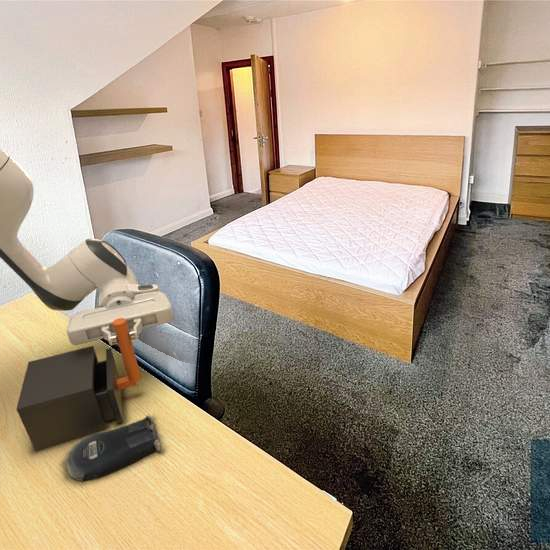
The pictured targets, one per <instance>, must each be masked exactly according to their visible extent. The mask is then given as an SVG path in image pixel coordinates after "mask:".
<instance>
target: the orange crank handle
mask: <svg viewBox="0 0 550 550" xmlns="http://www.w3.org/2000/svg"><path fill="white" fill-rule="evenodd" d="M113 327H114V330H115V334H116V337H117V340H118V344H117V345H118V347H119V351H120V354H121V358H122V362H123V365H124V369H125V372H126V375H127V376H126V375H125V376H123V377H121V376H120V374H119V370H118V368H117V364H116V363H117V362H116V360H115V357H114V354H113V350H112V348H107V349H105V359H104V360H101V361H98V362H97V363H94V391H95V394H96V397H97V400H98V403H99V406H100V409H101V412H102V415H103V418H104V421H105V422H106V423H107V422H109V421H112V420H116V422H117V424H121V423H123V422H124V416H123V415H124V414H123V402H122V400H123V399H122V390H123V389H128V388H131V387H134V386H137V383H139V382H141V380H142V375H141V371H140V368H139V367H140V366H139V364H138V361H137V357H136V356H137V355H136V353H135V348H134V344H133V342H132V341H133V340H131V339H130V335H129V330H128V326H127V322H126V319H125V318H118V319H116V320H114V321H113Z"/></svg>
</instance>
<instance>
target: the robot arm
mask: <svg viewBox="0 0 550 550" xmlns="http://www.w3.org/2000/svg"><path fill="white" fill-rule="evenodd" d="M34 194H35V192H34V184H33V180H32V179H31V176H29V174H28V173H27V172H26V171H25V169H24V168H23V167H22V166H21V165H20V164H19V163H18V162H17V161H15V159H13V158H12V157H11V155H9V154H8V153H7V152H6V151H5V150H4V149H2V148H1V147H0V259H1V260H2V261H3V262H4V263H5V264H6V265H7V266H8V267H9V268H10V269H11V270H12V271H13V272H14V273H15V274H16V275H17V276H18V277H19V278H20V279H21V280H22V281H23V282H25V284H26V285H27V286H28V287H29V288H30V289H31V290H32V291H33V293H34V294H35V295H36V297H37V298H38V299H39V300H40V301H41V302H42V303H43V304H44V305H45V307H47V308H48V309H50V310H53V311H59V312H67V311H73V310H74V309H75V308H76V307H77V306H78V305H79V304H80V303H82V301H84V300H85V298H87V297H88V296H89V295H90V294H92V293H93V292H94V291H95V290H97V289H98V294H99V296H98V307H96V308H92V309H88V310H82V311H79V312H77V313H75V314H73V315H72V316H71V317H70V318H69V319H68V324H67V327H66V334H67V338H68V341H69V342H70V344H71V345H73V346H79V345H83V344H87V343H91V342H95V341H100V340H105V341H107V342H108V344H109V346H110V347H111V346H115V345H119V344H118V340H117V337H116V334H115V330H114V327H113V321H114V320H116V319H118V318H125V319H126V322H127V326H128V330H129V335H130V339H131V341H135V340H138V339H139V335H140V334H141V333H142V331H144V329H147V328H151V327H157V326H161V325H165V324H168V323H171V322H172V321H173V320H174V319H175V318H174V312H173V307H172V304H171V302H170V299H169V298H168V297H167V295H166V294H165V293H164V292H163V291H161V289H160V287H159V285H158V284H142V285H141V284H139V282H138V279H137V277H136V275H135V273H134V272H133V270H132V269H131V268H130V267H129V266H128V265H127V261H126V260H125V258H124V256H123V255H122V253H120V251H118V250H117V249H116V248H115V247H114V246H113V245H112V244H110V243H109V242H108V241H105V240H101V239H96V238H86V239H85V240H83V241H82V242H80V244H78V245H77V246H76V247H74V248H73V249H72V250H71V251H69V253H67V254H66V255H65V256H63V257H62V258H61V259H59V260H58V261H57V262H56V263H55V264H53V265H51V266H44V265H42V264H41V263H40V261H38V259H37V258H35V256H34V255H33V254H32V253H31V252H30V250H28V249H27V248H26V247H25V245H23V243H22V241H20V239H19V236H18V234H19V231H20V228H21V227H22V224H23V222H24V221H25V219H26V217H27V215H28V214H29V211H30V210H31V207H32V203H33V200H34Z"/></svg>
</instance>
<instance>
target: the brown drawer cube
mask: <svg viewBox="0 0 550 550" xmlns="http://www.w3.org/2000/svg"><path fill="white" fill-rule="evenodd" d="M97 362H99V359H98V357H97V353H96V349H95V347H94V345H90V346H85V347H83V348H78V349H75V350H71V351H67V352H62V353H58V354H54V355H50V356H47V357H43V358H39V359H34V360H31V361H28V363H27V366H26V370H25V374H24V378H23V382H22V385H21V390H20V394H19V397H18V401H17V405H16V410H15V411H16V412H17V414H18V416H19V418H20V420H21V422H22V425H23V427H24V429H25V431H26V433H27V435H28V438H29V440H30V442H31V444H32V447H33V449H34V451H35V452H38V451H42V450H44V449H48V448H51V447H54V446H57V445H60V444H64V443H66V442H70V441H73V440H77V439H80V438H82V437H87V436H91V435H94V434H97V433H100V432H101V431H102V432H103V431H105V430H107V421H106V422H105V421H104V418H103V415H102V412H101V409H100V406H99V403H98V400H97V397H96V394H95V391H94V363H97Z"/></svg>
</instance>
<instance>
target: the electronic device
mask: <svg viewBox="0 0 550 550" xmlns="http://www.w3.org/2000/svg"><path fill="white" fill-rule="evenodd" d="M155 452H161V443H160V442H159V438H158V435H157V432H156V424H155V422H154V421H153V418H152V416H151V414H147V415H146V416H145V417H144V418H142V419H140V420H137V421H135V422H132V423H129V424H127V425H123V426H120V427H117V428H114V429H111V430H107V431H102V432H97V433H94V434H90V435H88V436H86V437H85V438H83V439H82V440H80V441H78V442H77V443H76V444H75V445H74V446H73V447H72V448H71V449H70V451H69V454H68V457H67V459H66V460H65V461H66V462H65V464H66V468H67V472H68V476H69V477H70V478H73V479H74V480H76V481H80V482H85V481H89V480H94V479H99V478H100V477H105V476H106V475H109V474H111V473H114V472H116V471H119V470H121V469H123V468H125V467H128V466H130V465H132V464H135V463H137V462H138V461H140V460H142V459H143V458H145V457H147V456H150V455H151V454H153V453H155Z"/></svg>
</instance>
